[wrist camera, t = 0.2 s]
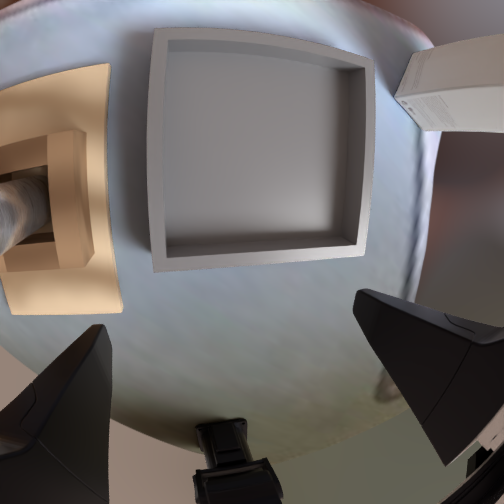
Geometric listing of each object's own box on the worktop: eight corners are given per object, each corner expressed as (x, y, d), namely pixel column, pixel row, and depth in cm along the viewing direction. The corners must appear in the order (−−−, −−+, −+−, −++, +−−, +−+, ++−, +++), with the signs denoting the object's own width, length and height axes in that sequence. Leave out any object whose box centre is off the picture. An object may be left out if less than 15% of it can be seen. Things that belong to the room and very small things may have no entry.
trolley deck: (123, 306, 23) (116, 332, 19) (16, 309, 20) (-1, 331, 16) (111, 66, 16) (99, 50, 12) (-7, 97, 13) (-31, 91, 9)
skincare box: (421, 132, 25) (539, 145, 11) (389, 95, 23) (519, 88, 9) (440, 83, 23) (543, 82, 10) (411, 47, 21) (519, 30, 8)
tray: (342, 243, 26) (363, 255, 23) (156, 255, 22) (153, 272, 19) (351, 68, 21) (374, 60, 18) (156, 46, 16) (154, 28, 13)
